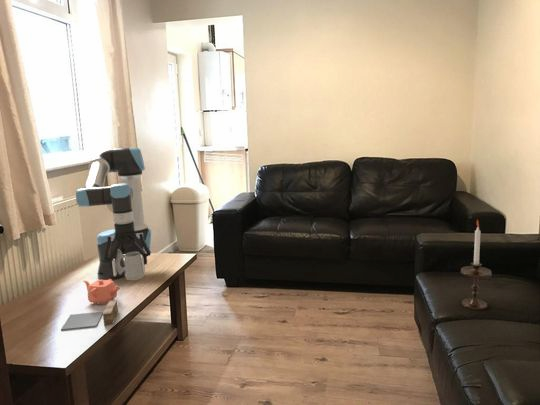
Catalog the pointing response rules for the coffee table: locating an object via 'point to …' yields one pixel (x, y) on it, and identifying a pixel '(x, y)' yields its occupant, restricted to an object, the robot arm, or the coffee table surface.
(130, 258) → the mug
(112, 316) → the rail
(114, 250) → the robot arm
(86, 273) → the coffee table surface
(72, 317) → the plate
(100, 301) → the teapot
